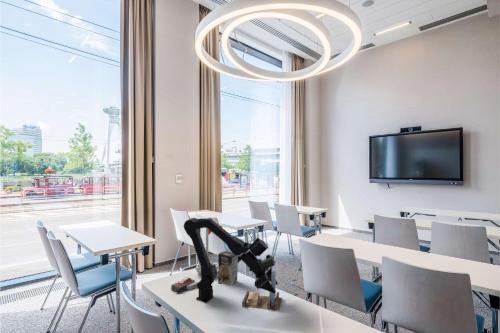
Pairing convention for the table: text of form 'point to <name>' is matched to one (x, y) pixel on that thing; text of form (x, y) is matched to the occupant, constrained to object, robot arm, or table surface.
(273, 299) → the board
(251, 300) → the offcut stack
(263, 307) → the rack
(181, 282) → the walkie-talkie
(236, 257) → the coffee box
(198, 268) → the flag stand
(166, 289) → the table surface
